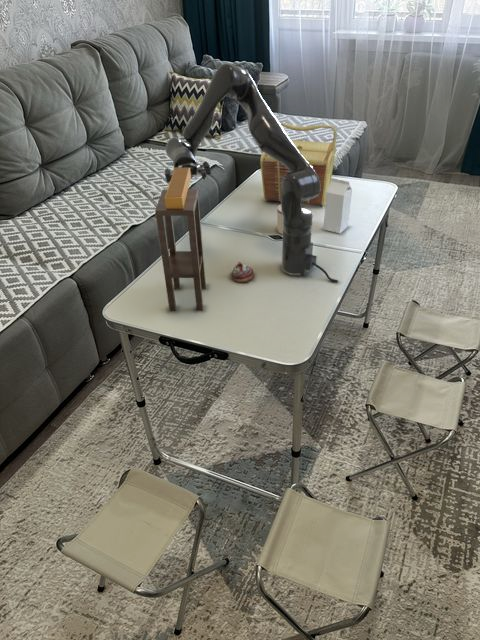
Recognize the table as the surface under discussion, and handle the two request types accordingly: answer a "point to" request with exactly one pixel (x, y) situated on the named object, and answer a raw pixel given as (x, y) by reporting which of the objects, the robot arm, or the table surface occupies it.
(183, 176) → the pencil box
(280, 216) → the teacup with lid
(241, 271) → the pastry
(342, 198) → the milk carton
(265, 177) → the picnic basket
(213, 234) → the table surface
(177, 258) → the stand
